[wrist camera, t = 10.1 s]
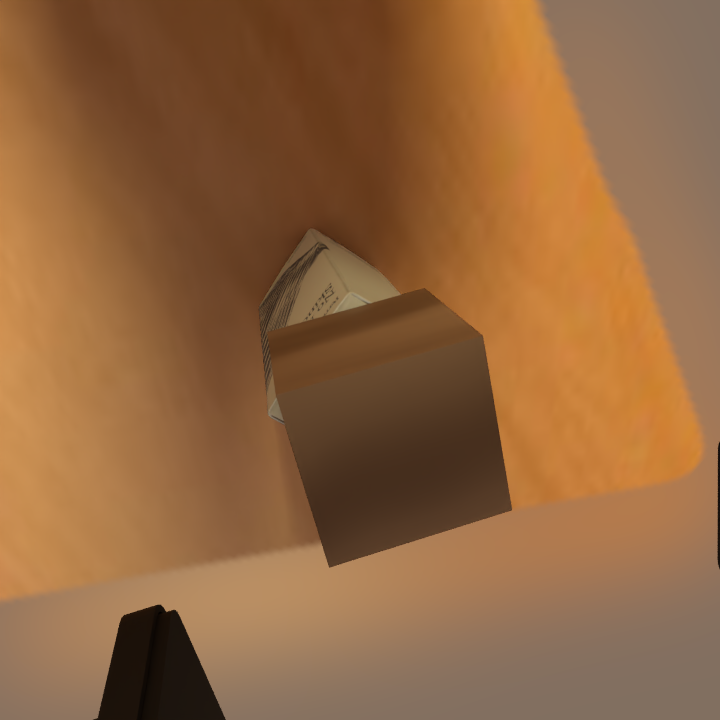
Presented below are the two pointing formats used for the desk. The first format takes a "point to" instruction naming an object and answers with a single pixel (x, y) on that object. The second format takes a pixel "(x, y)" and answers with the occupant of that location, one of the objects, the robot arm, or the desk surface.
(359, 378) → the walnut cube
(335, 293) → the box
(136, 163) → the desk surface
